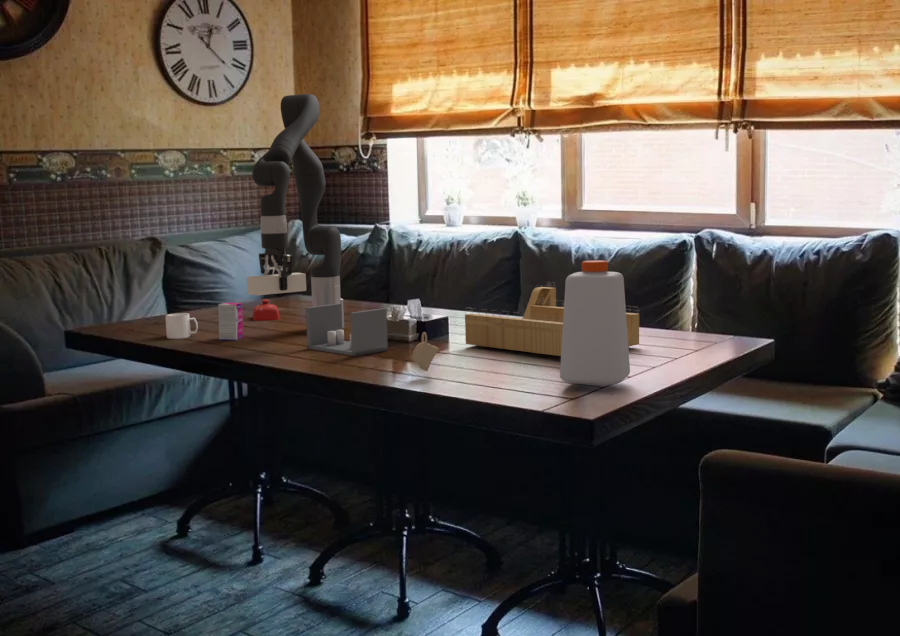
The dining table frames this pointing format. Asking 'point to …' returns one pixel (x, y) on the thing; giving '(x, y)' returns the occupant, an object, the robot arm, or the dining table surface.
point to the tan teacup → (424, 353)
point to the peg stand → (329, 333)
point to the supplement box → (230, 321)
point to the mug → (179, 325)
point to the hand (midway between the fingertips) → (276, 289)
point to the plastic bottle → (594, 327)
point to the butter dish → (265, 311)
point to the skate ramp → (531, 326)
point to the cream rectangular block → (275, 284)
